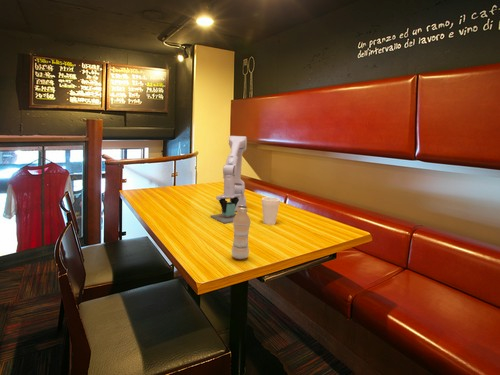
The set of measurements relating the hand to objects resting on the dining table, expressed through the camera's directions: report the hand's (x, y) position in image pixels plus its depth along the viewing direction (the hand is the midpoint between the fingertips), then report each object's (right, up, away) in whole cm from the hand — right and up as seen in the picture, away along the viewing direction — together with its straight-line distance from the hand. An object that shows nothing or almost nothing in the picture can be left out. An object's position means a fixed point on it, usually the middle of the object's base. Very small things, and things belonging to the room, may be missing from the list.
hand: (228, 211), depth 172 cm
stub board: (0, -4, +1) cm, 4 cm away
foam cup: (+22, -6, -4) cm, 23 cm away
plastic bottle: (+8, -14, -51) cm, 53 cm away
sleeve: (0, -1, 0) cm, 1 cm away
